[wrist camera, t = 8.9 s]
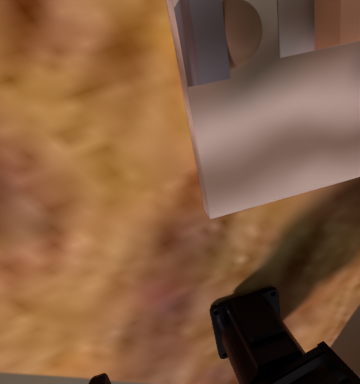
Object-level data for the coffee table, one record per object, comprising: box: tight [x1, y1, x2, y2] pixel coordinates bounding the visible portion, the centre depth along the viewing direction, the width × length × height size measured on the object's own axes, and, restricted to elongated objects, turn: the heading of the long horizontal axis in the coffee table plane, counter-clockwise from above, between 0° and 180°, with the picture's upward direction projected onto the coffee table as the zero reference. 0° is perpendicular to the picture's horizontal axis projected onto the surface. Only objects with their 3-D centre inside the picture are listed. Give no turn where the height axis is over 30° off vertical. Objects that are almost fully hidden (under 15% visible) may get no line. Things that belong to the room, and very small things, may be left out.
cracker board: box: [166, 0, 360, 219], centre depth 16 cm, size 18×19×5 cm
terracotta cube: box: [314, 0, 360, 50], centre depth 15 cm, size 3×2×2 cm, turn 11°
